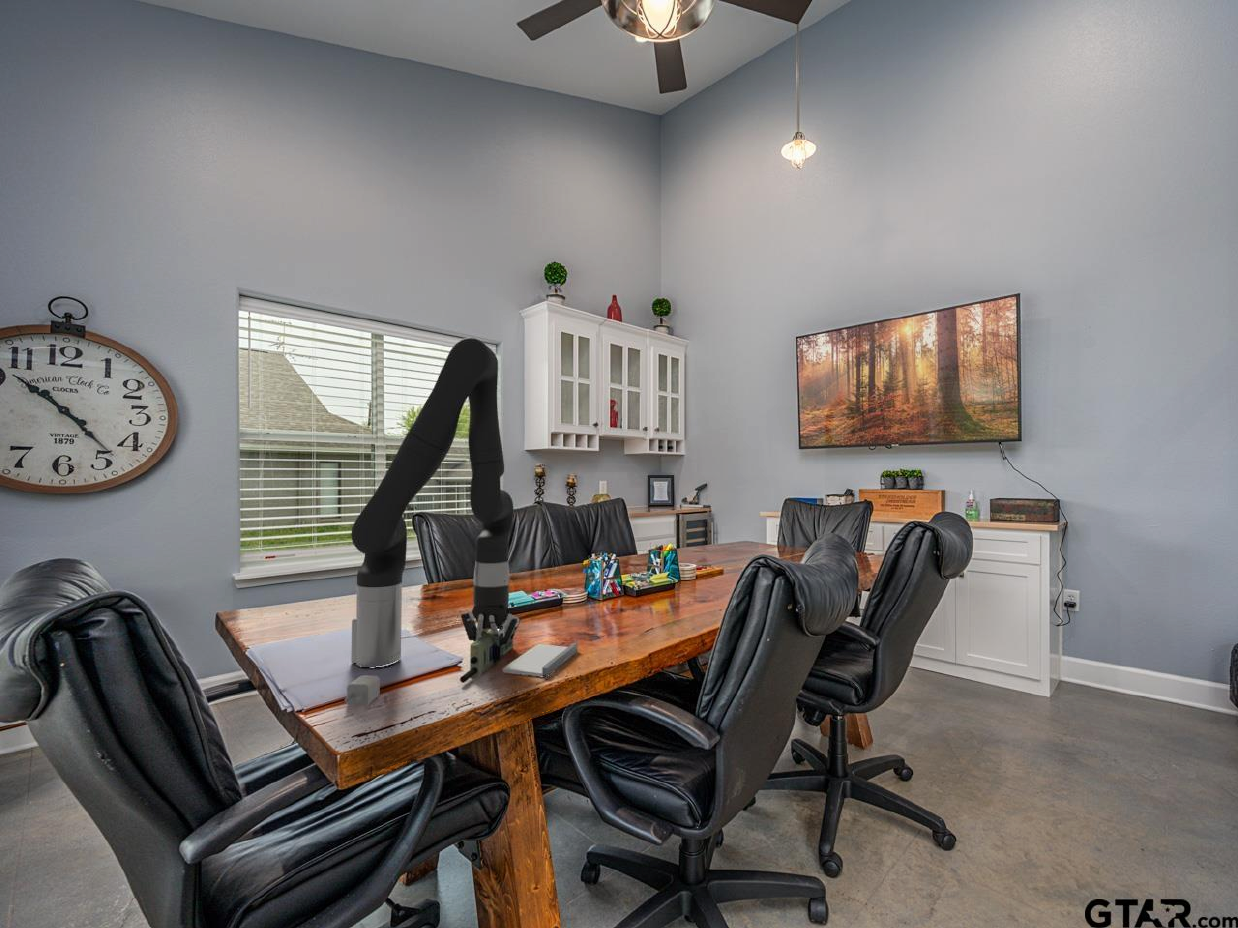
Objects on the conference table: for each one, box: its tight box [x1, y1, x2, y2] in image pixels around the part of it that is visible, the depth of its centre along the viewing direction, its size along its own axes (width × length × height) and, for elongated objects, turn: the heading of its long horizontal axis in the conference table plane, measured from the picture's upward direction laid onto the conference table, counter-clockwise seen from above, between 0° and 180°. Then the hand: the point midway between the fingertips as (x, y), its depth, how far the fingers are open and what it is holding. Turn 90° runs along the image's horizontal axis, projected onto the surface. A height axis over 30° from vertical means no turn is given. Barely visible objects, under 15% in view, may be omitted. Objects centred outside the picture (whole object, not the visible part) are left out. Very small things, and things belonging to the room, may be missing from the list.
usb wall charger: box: [344, 675, 381, 707], centre depth 106 cm, size 4×7×4 cm, turn 178°
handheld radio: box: [459, 620, 514, 684], centre depth 127 cm, size 7×3×25 cm
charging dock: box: [502, 642, 579, 678], centre depth 130 cm, size 10×18×2 cm, turn 164°
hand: (490, 660), depth 127 cm, fingers open, 3 cm apart
